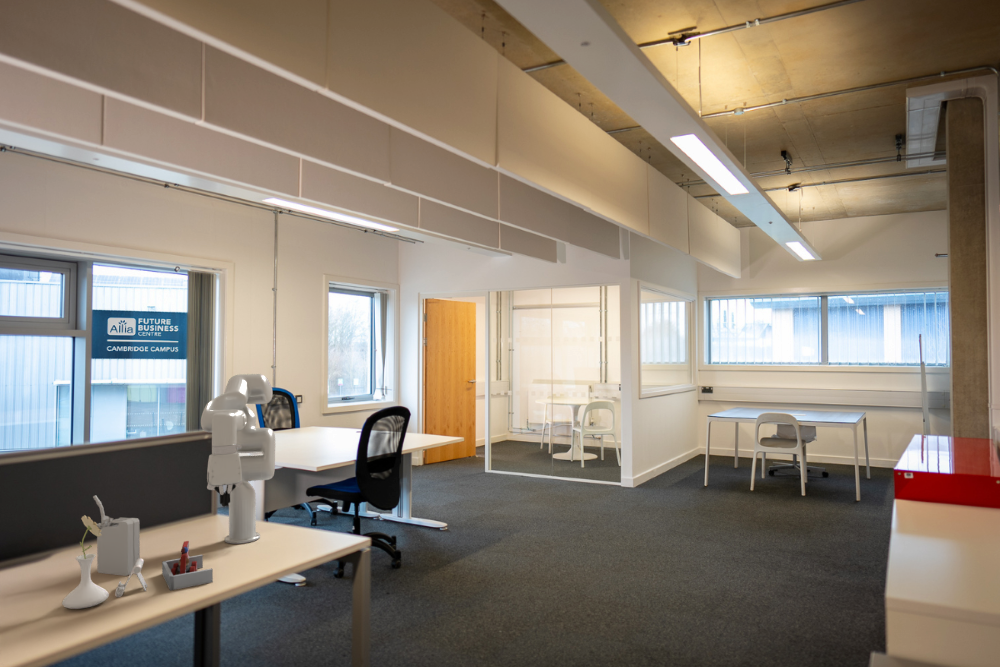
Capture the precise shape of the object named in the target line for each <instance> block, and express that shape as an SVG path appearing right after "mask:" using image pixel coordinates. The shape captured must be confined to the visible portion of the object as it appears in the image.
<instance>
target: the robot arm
mask: <svg viewBox="0 0 1000 667" xmlns="http://www.w3.org/2000/svg"><path fill="white" fill-rule="evenodd" d="M227 381H228V382H227V384H226V387H225V390H224V392H223V394H220V395H219V396H216V397H214V398H213V399H211V400H210V401H209V402H207V403H206V404H205V407H204V408H203V411H202V414H201V417H200V427H201V428H202V430H203V431H204V432H206V433H211V454H209V456H208V459H207V460H208V462H207V469H206V470H207V474H206V479H207V480H206V483H207V486H206V488H207V490H209V491H216V492H217V493H218V495H219V504H220V505H221V506H222V507H228V535H227V536H225V537H224V542H225V543H227V544H234V545H237V544H246V543H251V542H252V543H253V542H254V541H257V540H259V539H260V538H261V533H260V532H257V528H256V527H257V526H256V525H257V523H256V522H257V521H256V520H257V519H256V517H257V515H256V510H257V509H256V508H257V507H256V506H257V505H256V504H257V503H256V501H257V498H256V490H255V488H254V487H253V486H252V484H251V483H250V482H251V481H252V482H253V481H254V482H255V481H268V480H271V479H273V477H274V475H275V468H276V436H275V435H276V434H275V431H274V430H273V429H272V428H269V427H257V426H256V425H257V423H256V422H257V416H256V414H255V412H254V411H253V410H252V409H251V408H250V407H249V406H248V405H264V404H269V403H270V402H271V401H272V398H273V387H272V385H271V383H270V380H269V379H268V378H267V376H266V375H264V374H261V373H251V374H250V373H247V374H245V373H244V374H240V373H239V374H235V375H233V376H231V377H230V378H229V379H228V380H227ZM255 453H259V454H260V453H261V454H260V455H258V454H256V455H240V454H255ZM224 486H226V488H225V491H224Z"/></svg>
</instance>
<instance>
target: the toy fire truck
mask: <svg viewBox="0 0 1000 667" xmlns="http://www.w3.org/2000/svg"><path fill="white" fill-rule="evenodd" d="M189 550H190V541H189V540H186V541H183V544H182V546H181V549H180V553H181V554H180V558H181V559H180V558H179V559H180V560H179V563H174V564H173V568H172V569H171V572H172V574H173V576H174V575H179V574H185V573H190V572H195V571H198V568H197V561H193V562H192V565H191V567H190V566H189V565H188V564H189V557H190V555H189V552H190V551H189ZM179 565H180V566H179Z"/></svg>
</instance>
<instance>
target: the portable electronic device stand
mask: <svg viewBox="0 0 1000 667" xmlns="http://www.w3.org/2000/svg"><path fill="white" fill-rule="evenodd" d="M144 562H145V560H144V559H143V558H141V557H140V558H139V559H137V561H136V562H135V565H134V567H133V569H132V571H131V573H130V575H128V578H127V581H126V582H125V583H122V581H121V580H119V582H118V585H117V587H116V589H115V593H114V595H115V597H116V598H120V597H122V596H123V594H124V593H125V590H126V588H127V585H128V584H129V581H130V579H131V577H132V575H133V574H135V575H136V577H137V579H138V581H139V582H140V584H141V586H142V589H143V591H145V592H147V588H148V584H147V583H146V581H145V578H144V576H143V575H142V573H141V572H142V569H143V566H144Z"/></svg>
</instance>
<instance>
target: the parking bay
mask: <svg viewBox="0 0 1000 667" xmlns="http://www.w3.org/2000/svg"><path fill="white" fill-rule="evenodd" d="M180 559H181V557H180V558H175V559H170V560H169V559H168V560H164V561H161V565H162V566H161V572H162V576H163V579H164V581H165V583H166V585H167V587H168V589H169V591H175V590H180V589H184V588H189V587H194V586H199V585H205V584H211V583H213V582H214V581H213V579H214V578H213V577H214V576H213V568H208V569H207V568H206V569H201V568H203V566H204V563H203V562H204V560H203V559H204V558H203V554H198V555H192V556H189V564H188V565H189V566H190V567H191V565H192V562H193V561H197V569H201V570H197V571H195V572H190V573H185V574H179V575H174V576H173V574H172V572H171V569H172V568H173V564H174V563H179V560H180ZM179 566H180V565H179Z"/></svg>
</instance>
